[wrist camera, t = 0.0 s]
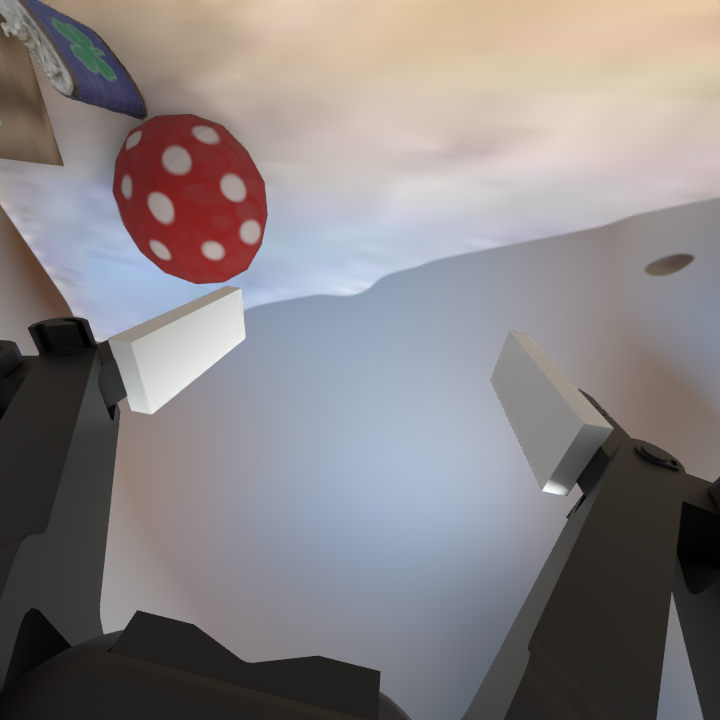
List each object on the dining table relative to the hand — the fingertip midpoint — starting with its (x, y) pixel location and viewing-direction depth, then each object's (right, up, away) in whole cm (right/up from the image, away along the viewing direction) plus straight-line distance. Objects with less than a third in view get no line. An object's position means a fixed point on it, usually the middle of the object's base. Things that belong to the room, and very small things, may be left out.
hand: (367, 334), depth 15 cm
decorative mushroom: (-16, +19, +25) cm, 35 cm away
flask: (-29, +32, +20) cm, 48 cm away
